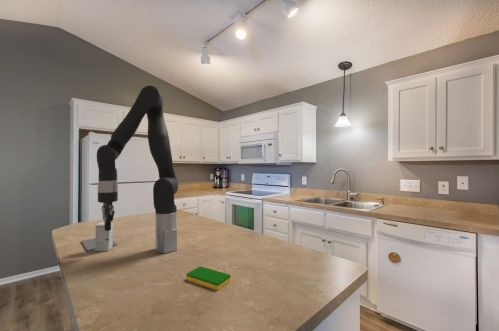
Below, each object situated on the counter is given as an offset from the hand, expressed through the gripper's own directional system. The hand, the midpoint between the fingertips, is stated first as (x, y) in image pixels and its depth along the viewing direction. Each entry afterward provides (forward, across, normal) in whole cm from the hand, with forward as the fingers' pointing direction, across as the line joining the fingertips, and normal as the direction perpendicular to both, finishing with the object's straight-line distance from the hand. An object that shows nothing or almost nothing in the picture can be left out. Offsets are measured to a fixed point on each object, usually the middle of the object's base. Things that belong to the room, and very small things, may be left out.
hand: (107, 230), depth 102 cm
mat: (+11, +20, 0) cm, 22 cm away
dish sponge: (+11, -50, -20) cm, 55 cm away
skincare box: (+11, +8, 0) cm, 13 cm away
